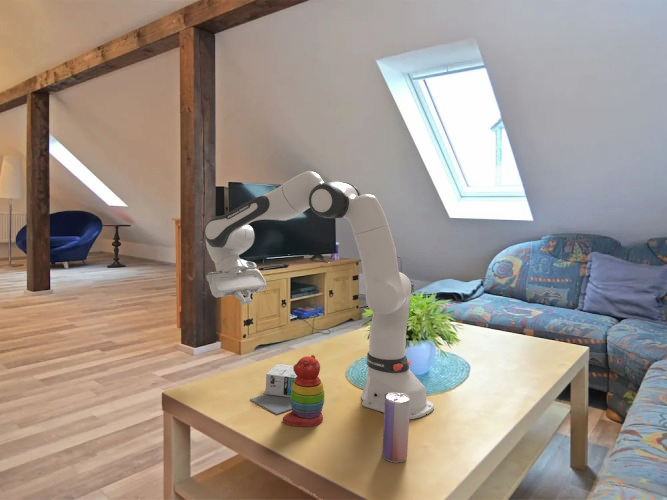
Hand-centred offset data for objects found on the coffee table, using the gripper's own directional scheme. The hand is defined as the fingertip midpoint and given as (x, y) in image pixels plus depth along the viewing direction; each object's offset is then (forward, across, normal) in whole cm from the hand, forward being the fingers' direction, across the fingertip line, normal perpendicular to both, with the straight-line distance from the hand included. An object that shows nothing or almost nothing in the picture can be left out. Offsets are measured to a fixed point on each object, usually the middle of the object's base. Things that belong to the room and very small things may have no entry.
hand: (247, 303), depth 165 cm
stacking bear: (+44, -6, -8) cm, 45 cm away
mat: (+34, -3, +1) cm, 35 cm away
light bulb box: (+25, -1, +5) cm, 26 cm away
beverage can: (+65, -3, -28) cm, 71 cm away
